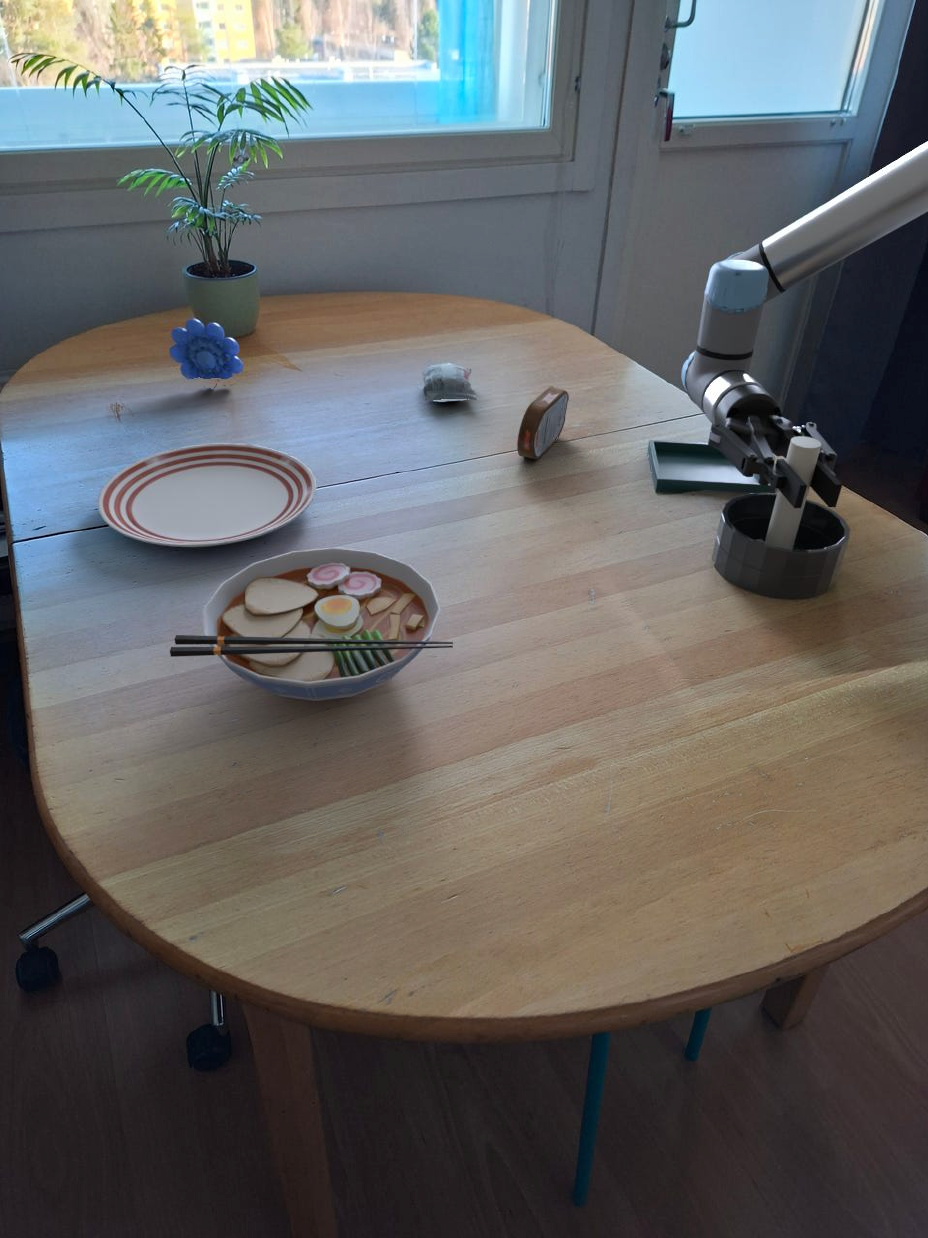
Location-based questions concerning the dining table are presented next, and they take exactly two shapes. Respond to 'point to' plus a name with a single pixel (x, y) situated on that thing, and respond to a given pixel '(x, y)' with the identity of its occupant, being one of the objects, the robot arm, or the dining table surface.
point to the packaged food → (447, 382)
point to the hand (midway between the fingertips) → (818, 496)
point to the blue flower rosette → (205, 351)
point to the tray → (697, 469)
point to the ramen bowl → (318, 622)
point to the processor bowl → (779, 549)
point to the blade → (784, 514)
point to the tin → (542, 422)
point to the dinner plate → (207, 495)
